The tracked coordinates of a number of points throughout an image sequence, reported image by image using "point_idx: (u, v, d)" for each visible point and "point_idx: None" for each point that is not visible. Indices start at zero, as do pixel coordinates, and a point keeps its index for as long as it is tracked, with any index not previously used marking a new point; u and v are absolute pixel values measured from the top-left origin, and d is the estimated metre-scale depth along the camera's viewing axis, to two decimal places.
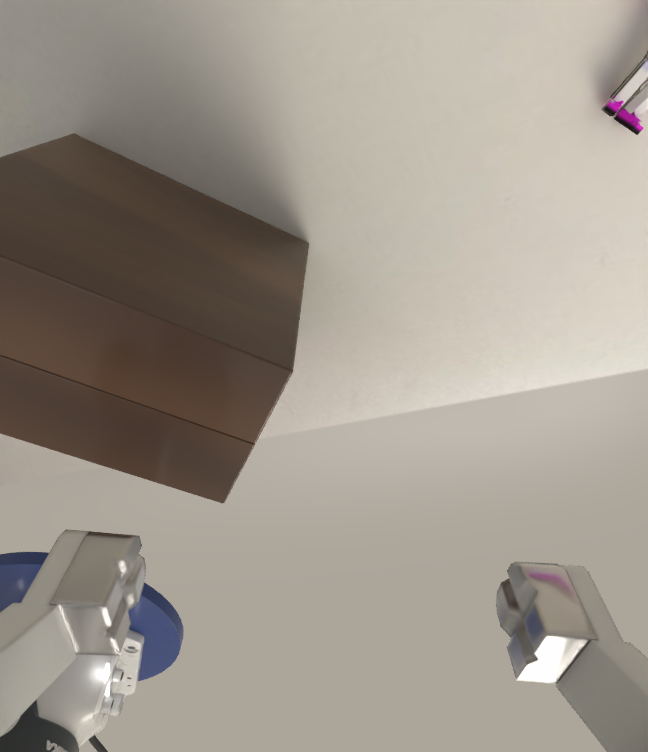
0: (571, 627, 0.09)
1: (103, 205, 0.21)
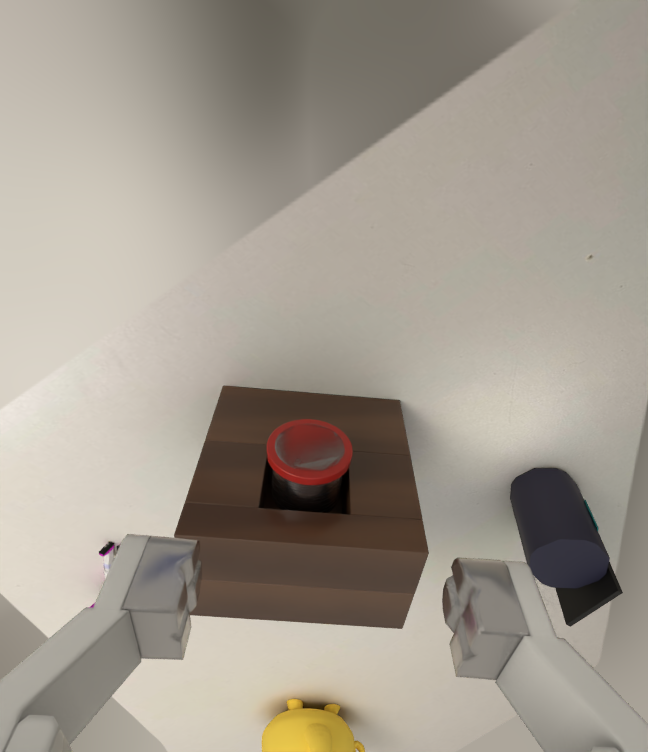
0: (506, 623, 0.09)
1: None
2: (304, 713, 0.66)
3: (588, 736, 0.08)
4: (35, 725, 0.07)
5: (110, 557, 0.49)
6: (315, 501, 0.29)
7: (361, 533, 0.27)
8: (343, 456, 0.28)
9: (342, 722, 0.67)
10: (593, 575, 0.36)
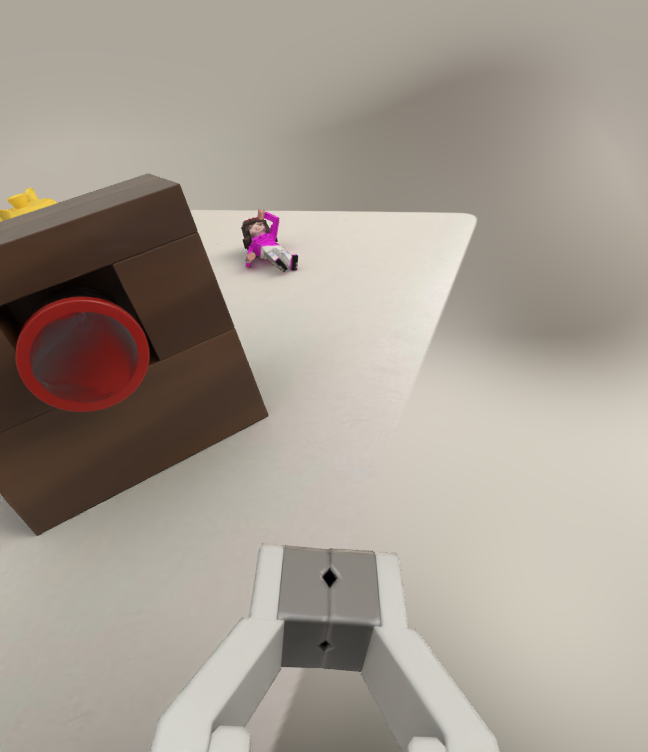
0: (362, 613, 0.09)
1: None
2: None
3: (422, 727, 0.08)
4: (229, 736, 0.07)
5: (287, 259, 0.50)
6: (45, 305, 0.21)
7: None
8: (30, 366, 0.20)
9: None
10: None
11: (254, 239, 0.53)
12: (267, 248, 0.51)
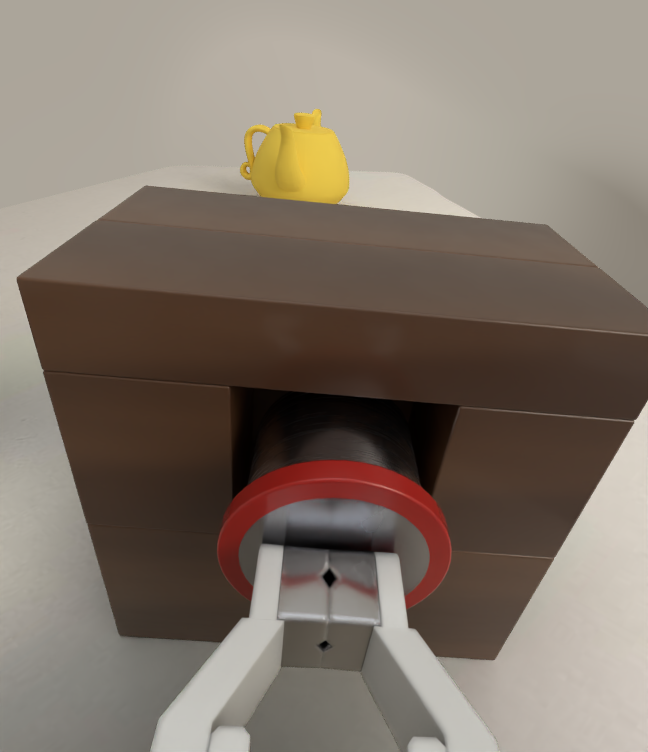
0: (362, 613, 0.09)
1: None
2: None
3: (422, 727, 0.08)
4: (229, 736, 0.07)
5: None
6: (317, 417, 0.11)
7: (201, 336, 0.10)
8: (242, 537, 0.10)
9: (263, 193, 0.61)
10: None
11: None
12: None
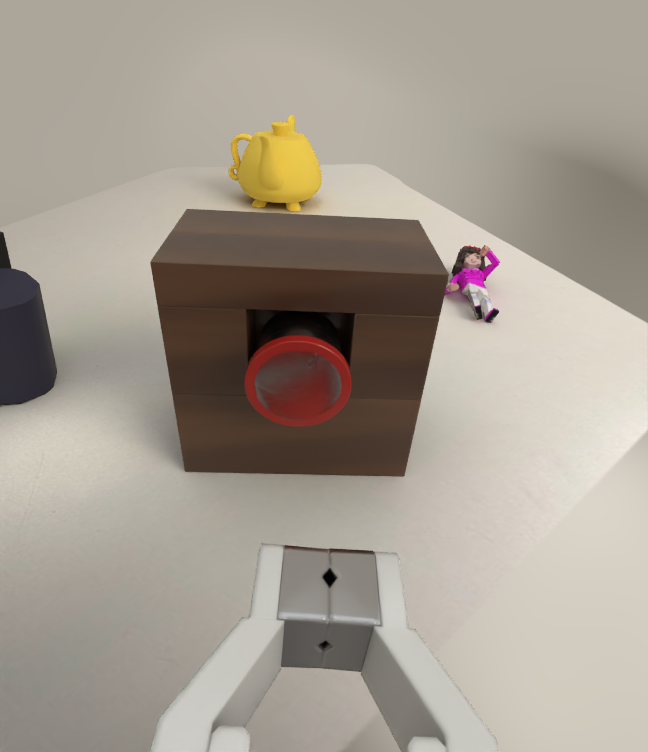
0: (362, 613, 0.09)
1: None
2: (284, 198, 0.72)
3: (422, 727, 0.08)
4: (229, 736, 0.07)
5: (486, 308, 0.49)
6: (288, 323, 0.24)
7: (232, 284, 0.23)
8: (256, 374, 0.23)
9: (249, 191, 0.73)
10: None
11: (465, 271, 0.53)
12: (473, 287, 0.50)
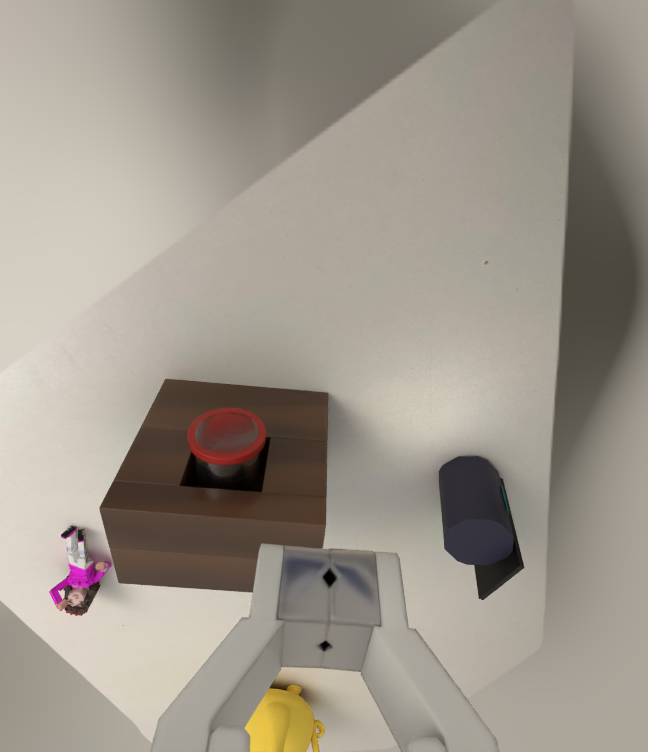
0: (362, 613, 0.09)
1: None
2: None
3: (422, 726, 0.08)
4: (229, 736, 0.07)
5: (72, 540, 0.52)
6: (231, 480, 0.32)
7: (268, 508, 0.31)
8: (255, 440, 0.32)
9: (302, 701, 0.70)
10: (501, 552, 0.40)
11: (86, 584, 0.54)
12: (81, 563, 0.53)
